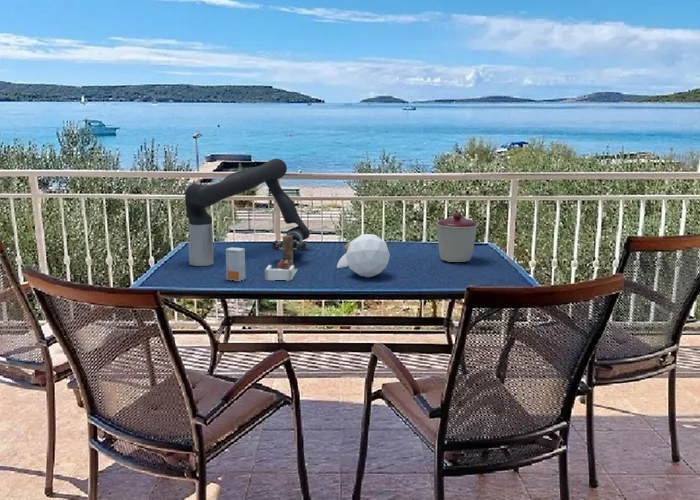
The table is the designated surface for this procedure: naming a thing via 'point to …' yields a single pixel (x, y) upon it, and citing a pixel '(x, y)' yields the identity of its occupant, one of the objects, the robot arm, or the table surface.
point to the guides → (289, 262)
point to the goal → (279, 274)
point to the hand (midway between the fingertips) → (287, 248)
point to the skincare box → (235, 264)
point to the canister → (456, 238)
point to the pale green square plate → (294, 271)
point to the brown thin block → (287, 252)
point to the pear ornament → (366, 255)
